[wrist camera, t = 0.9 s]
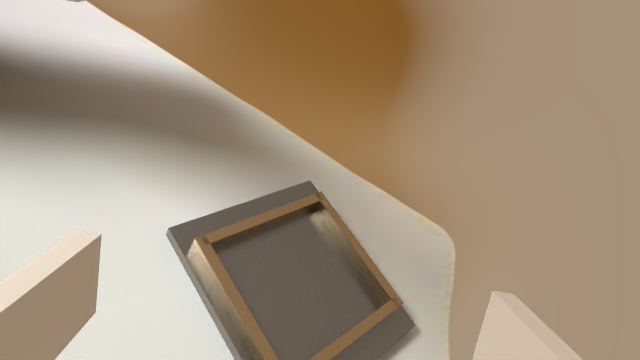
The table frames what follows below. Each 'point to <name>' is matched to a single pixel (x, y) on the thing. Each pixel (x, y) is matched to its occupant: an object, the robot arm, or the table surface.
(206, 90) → the table surface
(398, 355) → the table surface
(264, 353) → the plate
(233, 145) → the table surface
